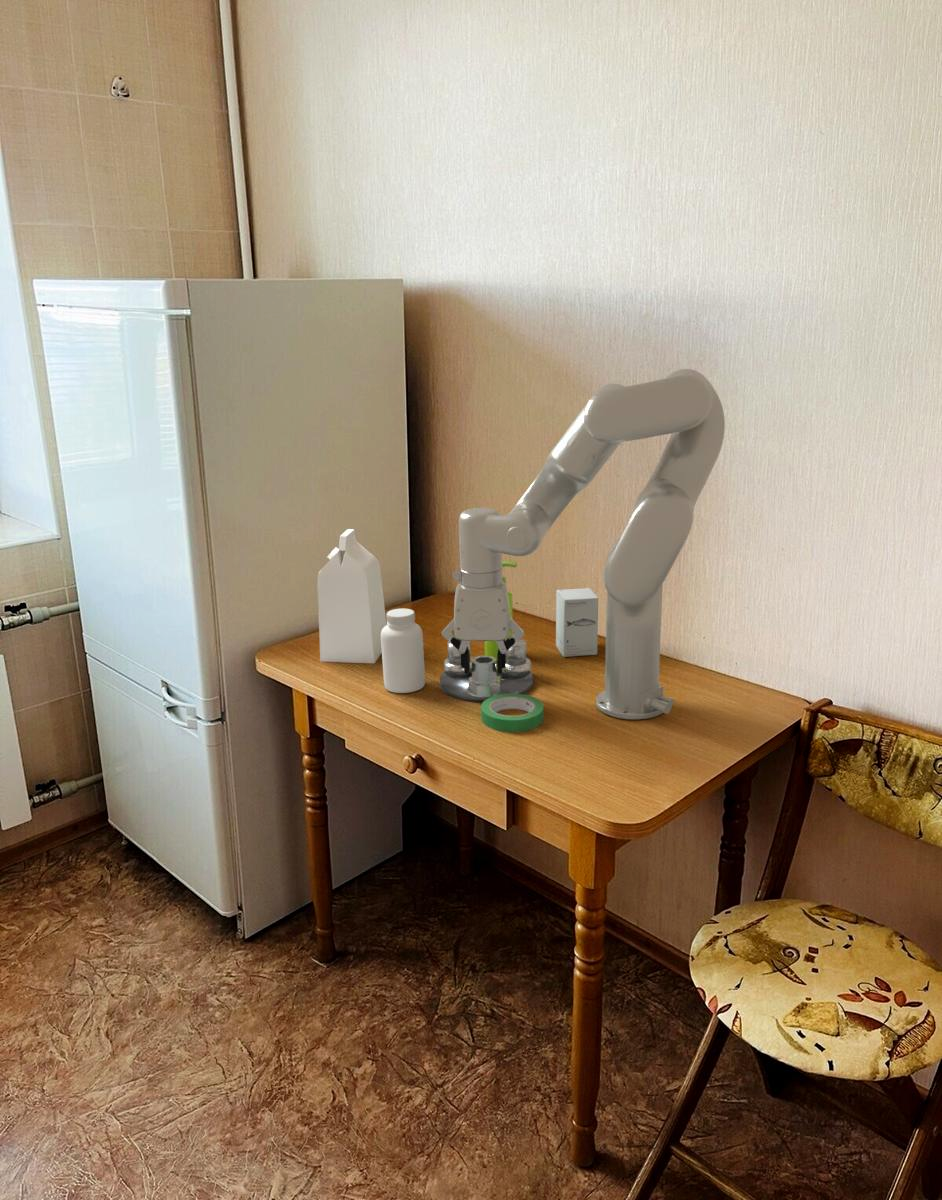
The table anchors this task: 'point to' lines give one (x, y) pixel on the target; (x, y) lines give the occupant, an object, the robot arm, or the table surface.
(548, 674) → the table surface
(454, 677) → the carrier
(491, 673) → the octagonal collar pipe
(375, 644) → the milk
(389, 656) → the pill bottle
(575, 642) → the supplement box
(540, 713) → the tape roll
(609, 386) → the robot arm
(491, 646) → the soap dispenser
